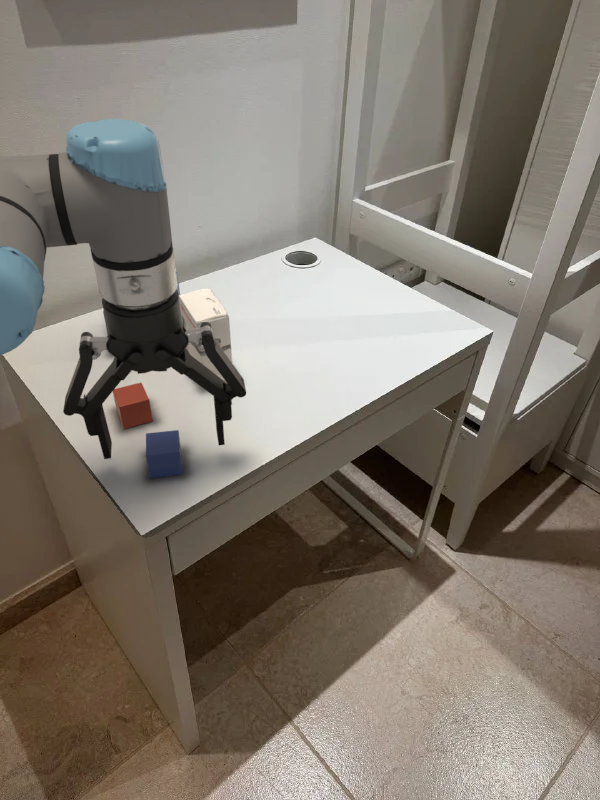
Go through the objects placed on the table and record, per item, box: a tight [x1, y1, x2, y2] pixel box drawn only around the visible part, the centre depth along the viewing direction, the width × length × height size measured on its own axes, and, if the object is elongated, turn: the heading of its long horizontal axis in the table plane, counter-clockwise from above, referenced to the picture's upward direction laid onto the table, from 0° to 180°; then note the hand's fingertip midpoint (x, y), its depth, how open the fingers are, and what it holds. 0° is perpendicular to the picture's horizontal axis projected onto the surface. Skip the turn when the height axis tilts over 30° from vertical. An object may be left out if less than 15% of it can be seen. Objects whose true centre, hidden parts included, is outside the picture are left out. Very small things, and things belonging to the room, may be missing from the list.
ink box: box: [179, 287, 233, 384], centre depth 85 cm, size 9×5×12 cm, turn 27°
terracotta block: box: [112, 382, 153, 430], centre depth 79 cm, size 4×4×4 cm
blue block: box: [145, 429, 183, 479], centre depth 72 cm, size 4×4×4 cm
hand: (165, 444), depth 71 cm, fingers open, 13 cm apart
